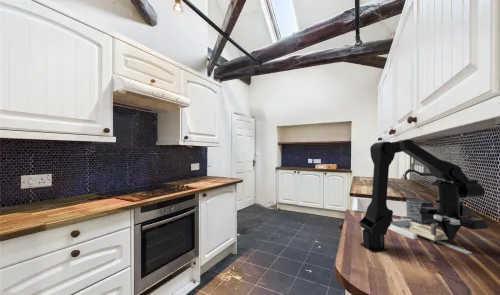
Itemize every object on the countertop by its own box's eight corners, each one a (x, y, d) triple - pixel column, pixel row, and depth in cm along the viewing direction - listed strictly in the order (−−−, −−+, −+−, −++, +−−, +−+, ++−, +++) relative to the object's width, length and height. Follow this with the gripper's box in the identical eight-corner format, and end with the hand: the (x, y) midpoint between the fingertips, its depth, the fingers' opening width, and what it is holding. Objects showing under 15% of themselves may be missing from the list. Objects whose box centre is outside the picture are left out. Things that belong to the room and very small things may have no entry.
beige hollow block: (434, 244, 78) (433, 224, 79) (409, 234, 88) (409, 217, 88) (451, 242, 80) (450, 223, 80) (425, 232, 89) (424, 215, 90)
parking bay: (452, 256, 70) (452, 247, 70) (384, 227, 98) (384, 220, 98) (485, 251, 72) (485, 243, 72) (409, 224, 100) (409, 218, 100)
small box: (435, 224, 101) (434, 202, 101) (422, 224, 101) (421, 202, 101) (418, 217, 111) (417, 198, 112) (406, 217, 111) (405, 198, 112)
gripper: (499, 202, 69) (502, 249, 68) (440, 192, 87) (442, 229, 87) (472, 204, 67) (475, 252, 66) (417, 193, 86) (419, 231, 85)
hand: (450, 240), depth 76 cm, fingers closed
